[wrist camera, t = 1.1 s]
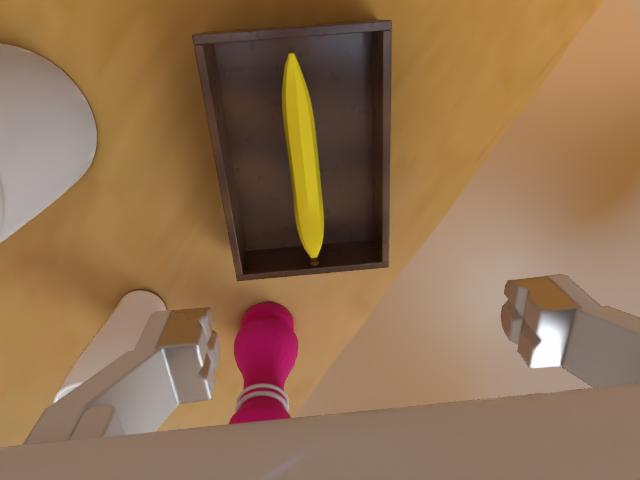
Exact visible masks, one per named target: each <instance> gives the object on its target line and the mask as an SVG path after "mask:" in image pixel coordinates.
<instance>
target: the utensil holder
mask: <svg viewBox="0 0 640 480" xmlns="http://www.w3.org/2000/svg"><path fill="white" fill-rule="evenodd" d="M96 146H97V130H96V124H95V120H94V116H93V113H92V111H91V108H90V106H89V104H88V102H87V100H86V98H85V97H84V95H83V93H82V92H81V91H80V89H79V88H78V87H77V85H76V84H75V83H74V82H73V81H72V79H71V78H70V77H69V76H68V75H67V74H66V73H65V72H64V71H62V70H61V69H60V68H59V67H57V66H56V65H55V64H53V63H52V62H50V61H49V60H47V59H45V58H44V57H42V56H40V55H38V54H36V53H34V52H31V51H29V50H26V49H24V48H21V47H17V46H13V45H7V44H0V243H1V242H3V241H4V240H5V239H7V238H8V237H9V236H11V235H12V234H13V233H15V232H16V231H17V230H18V229H20V228H21V227H22V226H24V225H25V224H26V223H27V222H29V221H30V220H31V219H33V218H34V217H35V216H37V215H38V214H39V213H40V212H42V211H43V210H44V209H46V208H47V207H48V206H49V205H51V204H52V203H53V202H54V201H55V200H57V199H58V198H59V197H60V196H61V195H62V194H64V193H65V192H66V191H67V190H68V189H69V188H70V187H72V186H73V185H74V184H75V183H76V182H77V181H78V180H79V179H80V178H81V177H82V176H83V175H84V174H85V173H86V171H87V170H88V168H89V167H90V165H91V163H92V161H93V158H94V155H95V151H96Z"/></svg>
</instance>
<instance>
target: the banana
mask: <svg viewBox="0 0 640 480" xmlns="http://www.w3.org/2000/svg"><path fill="white" fill-rule="evenodd" d="M282 112H283V122H284V130H285V138H286V146H287V153H288V160H289V168H290V175H291V183H292V192H293V201H294V211H295V220H296V225H297V230H298V233H299V237H300V240H301V242H302V244H303V247H304V249H305V250H306V252H307V253H308V254H309V256H310V257H311V262H310V264H311V265H313V266H316V265H318V264H319V261H318V259H317V256H318V254H319V252H320V249H321V246H322V241H323V235H324V212H323V201H322V190H321V179H320V169H319V158H318V148H317V139H316V130H315V122H314V116H313V110H312V104H311V100H310V96H309V92H308V89H307V86H306V83H305V80H304V77H303V74H302V71H301V68H300V66H299V63H298V61H297V59H296V56H295V54H294V53H293V52H290V53H289V55H288V58H287V61H286V63H285V68H284V75H283V86H282Z"/></svg>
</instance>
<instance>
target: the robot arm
mask: <svg viewBox="0 0 640 480" xmlns="http://www.w3.org/2000/svg"><path fill="white" fill-rule="evenodd" d="M504 294H505V295H506V297H507V298H508V301H507V302H506V303H505V304H504V305H503V306H502V311H501V321H502V327H503V329H504V332H505V334H506V336H507V337H508V338H509V340H510V341H512V342H514V343H516V344H518V350H517V351H518V353H519V354H520V355H521V357H522V358H523V360H524V361H525V363H526V364H527V365H528V367H529V368H543V367H557V366H562V368H563V369H565V370H567V371H568V372H570V373H571V374H573V375H574V376H576V377H577V378H579V379H581V380H582V381H584V382H585V383H587V384H588V385H590V386H591V387H593V388H587V389H577V390H567V391H557V392H547V393H538V394H527V395H518V396H508V397H497V398H488V399H477V400H468V401H458V402H448V403H438V404H428V405H418V406H408V407H399V408H389V409H378V410H368V411H358V412H348V413H338V414H328V415H318V416H308V417H298V418H288V419H278V420H268V421H258V422H248V423H238V424H228V425H218V426H208V427H198V428H188V429H178V430H168V431H158V432H155V431H156V430H157V429H158V428H159V427H160V426H161V425H162V423H163V422H164V421H165V420H166V419H167V418H168V417H169V415H170V414H171V413H172V412H173V411H174V410H175V409H176V407H177V406H178V404H182V403H190V402H198V401H205V400H211V398H212V393H213V389H214V384H215V377H214V373H213V372H214V371H215V370H216V369H217V368H218V364H219V353H220V348H219V340H218V335H217V333H216V332H215V331H214V330H212V328H213V324H214V317H213V313H212V310H211V309H210V307H209V308H195V309H181V310H167V311H157V312H154V313H152V314H151V316H150V318H149V320H148V322H147V324H146V326H145V328H144V330H143V332H142V334H141V336H140V338H139V340H138V343H137V345H136V347H135V349H134V351H128V352H126V353H125V354H123V355H122V356H120V357H119V358H118V359H116V360H115V361H113V362H112V363H110V364H109V365H108V366H106V367H105V368H103V369H102V370H101V371H99V372H98V373H96V374H95V375H93V376H92V377H91V378H89V379H88V380H86V381H85V382H83V383H82V384H81V385H79V386H78V387H76V388H75V389H74V390H72V391H71V392H69V393H68V394H66V395H65V396H64V397H62V398H61V399H59V400H58V401H56V402H55V403H54V404H52V405H51V406H49V407H48V408H47V409H45V411H44V412H43V414H42V415H41V417H40V418H39V420H38V421H37V423H36V425H35V426H34V428H33V429H32V431H31V432H30V434H29V436H28V437H27V439H26V440H25V442H24V443H23V445H18V446H8V447H0V480H640V318H639V317H636V316H634V315H631V314H628V313H626V312H623V311H620V310H617V309H615V308H612V307H609V306H601V305H600V304H598V303H597V302H596V301H595V300H594V299H593V298H592V297H591V296H589V295H588V294H587V293H586V292H585V291H584V290H583V289H582V288H580V287H579V286H578V285H577V284H576V283H575V282H574V281H572V280H571V279H570V278H569V277H568V276H567V275H564V274H558V275H550V276H544V277H535V278H526V279H517V280H508V282H507V283H506V285H505V290H504Z"/></svg>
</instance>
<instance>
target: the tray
mask: <svg viewBox="0 0 640 480" xmlns="http://www.w3.org/2000/svg"><path fill="white" fill-rule="evenodd" d="M391 29H392V21H391V20H368V21H354V22H340V23H327V24H313V25H300V26H286V27H273V28H259V29H245V30H232V31H218V32H205V33H200V34H195V35H192V38H193V43H194V48H195V54H196V59H197V65H198V70H199V76H200V81H201V87H202V92H203V97H204V103H205V108H206V114H207V119H208V125H209V130H210V136H211V141H212V147H213V152H214V158H215V163H216V168H217V174H218V179H219V185H220V190H221V196H222V201H223V207H224V212H225V218H226V223H227V229H228V234H229V239H230V245H231V250H232V256H233V261H234V267H235V272H236V278H237V281H243V280H254V279H265V278H276V277H287V276H298V275H309V274H320V273H331V272H342V271H353V270H364V269H375V268H386V267H389V209H390V123H391V36H392V31H391ZM290 52H293V53H294V54H295V56H296V59H297V61H298V63H299V66H300V68H301V71H302V74H303V77H304V80H305V83H306V86H307V89H308V92H309V96H310V100H311V104H312V110H313V116H314V122H315V130H316V139H317V148H318V158H319V169H320V179H321V190H322V201H323V212H324V235H323V241H322V246H321V249H320V252H319V254H318V256H317V259H318V261H319V264H318V265H316V266H313V265H311V264H310V262H311V257H310V256H309V254H308V253H307V252H306V250H305V249H304V247H303V244H302V242H301V240H300V237H299V233H298V230H297V225H296V220H295V211H294V201H293V192H292V183H291V175H290V168H289V160H288V153H287V146H286V138H285V130H284V122H283V112H282V86H283V75H284V68H285V63H286V61H287V58H288V55H289V53H290Z"/></svg>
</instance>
